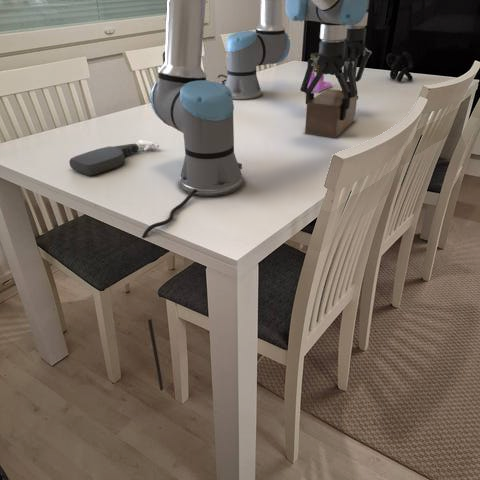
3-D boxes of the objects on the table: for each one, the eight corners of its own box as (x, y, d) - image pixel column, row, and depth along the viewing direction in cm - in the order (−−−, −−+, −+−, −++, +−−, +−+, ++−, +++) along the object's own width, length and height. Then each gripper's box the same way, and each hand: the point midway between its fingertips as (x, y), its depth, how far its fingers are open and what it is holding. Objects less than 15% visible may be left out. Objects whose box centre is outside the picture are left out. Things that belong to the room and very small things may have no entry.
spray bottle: (67, 168, 120) (139, 144, 136) (91, 178, 114) (163, 151, 130) (65, 157, 118) (137, 134, 134) (89, 167, 112) (162, 142, 128)
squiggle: (400, 92, 202) (376, 71, 205) (417, 76, 202) (392, 56, 205) (405, 81, 191) (380, 59, 194) (423, 64, 191) (397, 42, 194)
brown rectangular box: (325, 117, 155) (327, 88, 150) (353, 121, 151) (357, 91, 146) (305, 133, 141) (306, 102, 136) (335, 138, 137) (338, 106, 132)
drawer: (335, 108, 161) (337, 86, 157) (359, 111, 158) (362, 88, 153) (312, 126, 144) (313, 102, 140) (338, 130, 140) (341, 105, 136)
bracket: (318, 92, 184) (319, 74, 181) (306, 90, 187) (307, 72, 184) (333, 85, 193) (334, 68, 189) (321, 84, 196) (322, 67, 192)
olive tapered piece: (307, 71, 218) (308, 54, 214) (312, 68, 224) (313, 51, 220) (322, 73, 215) (323, 55, 211) (326, 70, 221) (328, 52, 217)
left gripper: (375, 40, 126) (365, 118, 138) (301, 36, 136) (297, 109, 147) (368, 44, 121) (358, 125, 132) (291, 39, 130) (288, 115, 142)
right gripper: (377, 26, 143) (368, 101, 155) (338, 25, 148) (332, 97, 161) (371, 29, 137) (362, 106, 150) (331, 27, 143) (325, 102, 155)
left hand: (326, 117), depth 140 cm, fingers closed on brown rectangular box, 10 cm apart
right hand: (346, 101), depth 155 cm, fingers closed
